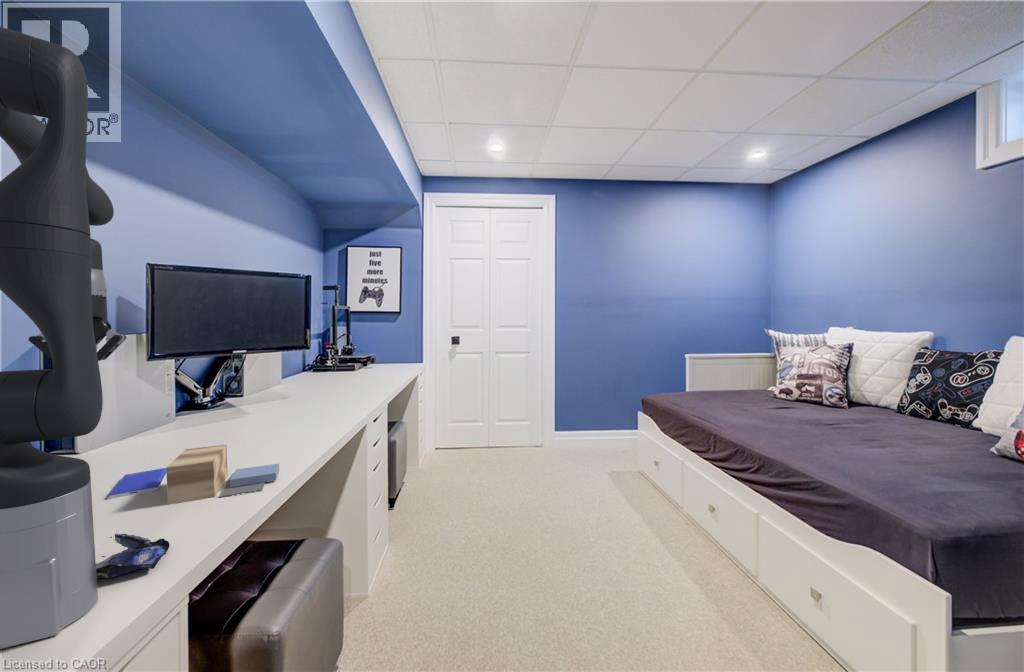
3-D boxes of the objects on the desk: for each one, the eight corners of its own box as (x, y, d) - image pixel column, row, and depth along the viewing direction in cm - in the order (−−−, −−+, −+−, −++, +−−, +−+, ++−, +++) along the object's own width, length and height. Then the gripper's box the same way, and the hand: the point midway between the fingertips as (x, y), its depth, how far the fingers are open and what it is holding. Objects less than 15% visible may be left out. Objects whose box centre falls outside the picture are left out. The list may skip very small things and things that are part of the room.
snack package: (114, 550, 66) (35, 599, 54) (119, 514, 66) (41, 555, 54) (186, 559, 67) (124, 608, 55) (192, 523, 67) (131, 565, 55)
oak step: (214, 496, 84) (213, 461, 84) (168, 504, 81) (166, 467, 80) (227, 476, 95) (226, 444, 95) (187, 481, 92) (185, 449, 91)
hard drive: (124, 474, 93) (107, 494, 83) (168, 467, 98) (157, 485, 88) (124, 480, 94) (107, 501, 83) (168, 473, 98) (158, 492, 88)
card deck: (230, 479, 88) (230, 488, 88) (275, 472, 92) (276, 481, 92) (236, 469, 94) (236, 477, 94) (279, 463, 97) (279, 471, 98)
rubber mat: (262, 490, 87) (262, 489, 87) (219, 497, 84) (219, 496, 84) (270, 468, 100) (270, 467, 100) (233, 473, 97) (233, 472, 97)
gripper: (10, 291, 66) (17, 390, 67) (114, 293, 71) (119, 384, 72) (40, 293, 72) (46, 383, 73) (133, 294, 78) (137, 378, 79)
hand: (82, 384), depth 73 cm, fingers closed
